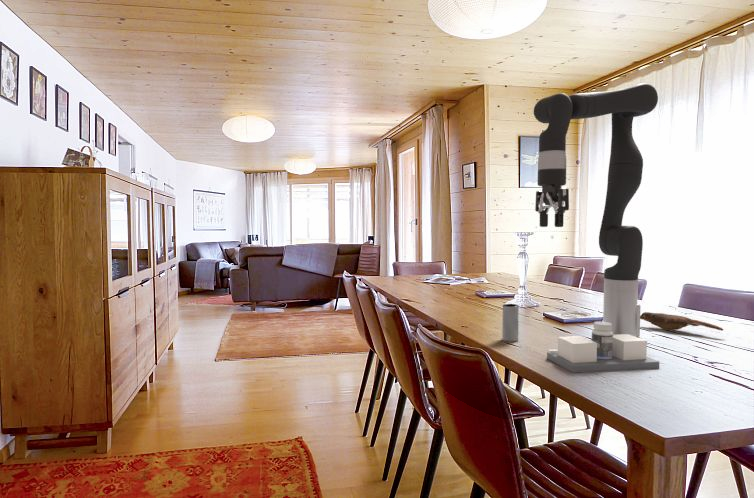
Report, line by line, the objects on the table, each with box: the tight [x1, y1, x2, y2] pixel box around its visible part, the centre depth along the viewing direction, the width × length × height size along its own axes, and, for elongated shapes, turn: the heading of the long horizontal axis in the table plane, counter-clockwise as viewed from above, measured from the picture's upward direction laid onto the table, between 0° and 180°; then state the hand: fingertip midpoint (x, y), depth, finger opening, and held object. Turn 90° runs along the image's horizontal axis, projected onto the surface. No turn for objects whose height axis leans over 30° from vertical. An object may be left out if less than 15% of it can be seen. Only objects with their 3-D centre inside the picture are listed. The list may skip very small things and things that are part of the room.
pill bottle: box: [591, 321, 613, 359], centre depth 120 cm, size 5×5×8 cm
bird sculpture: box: [640, 311, 724, 331], centre depth 155 cm, size 7×25×5 cm, turn 41°
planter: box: [501, 303, 520, 343], centre depth 144 cm, size 4×4×10 cm
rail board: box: [546, 334, 660, 373], centre depth 120 cm, size 22×12×6 cm, turn 99°
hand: (551, 226), depth 138 cm, fingers open, 8 cm apart
